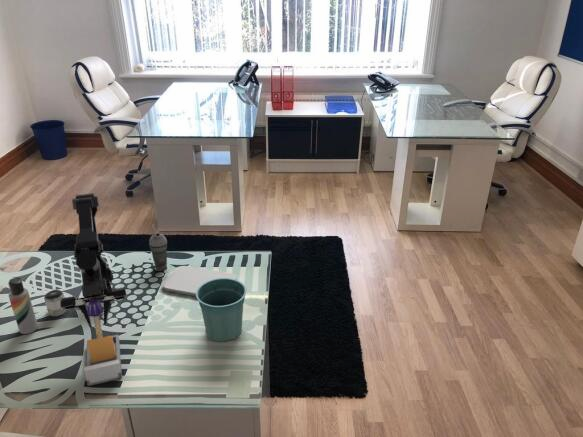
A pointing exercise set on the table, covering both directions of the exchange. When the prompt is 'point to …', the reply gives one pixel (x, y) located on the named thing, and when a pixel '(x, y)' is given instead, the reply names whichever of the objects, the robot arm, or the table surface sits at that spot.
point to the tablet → (191, 279)
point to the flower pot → (222, 307)
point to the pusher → (101, 349)
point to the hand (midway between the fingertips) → (98, 326)
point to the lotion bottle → (22, 306)
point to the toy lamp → (95, 315)
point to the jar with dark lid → (54, 302)
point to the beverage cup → (159, 250)
